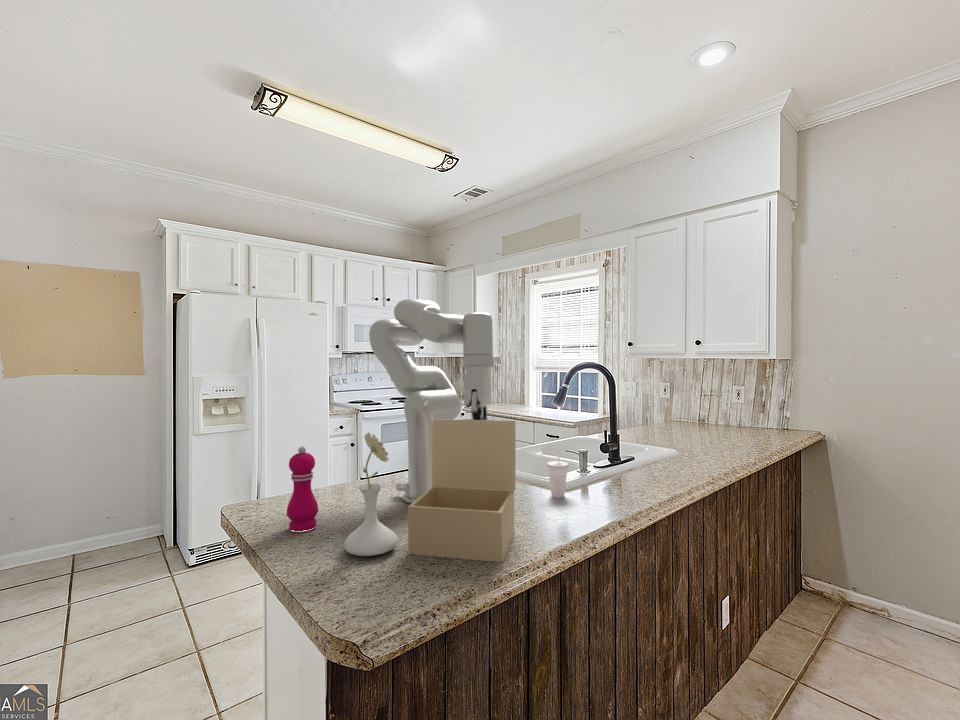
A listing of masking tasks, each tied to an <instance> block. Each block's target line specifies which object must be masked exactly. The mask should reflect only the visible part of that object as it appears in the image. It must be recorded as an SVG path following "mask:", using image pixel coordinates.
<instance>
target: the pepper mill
mask: <svg viewBox="0 0 960 720" xmlns="http://www.w3.org/2000/svg"><path fill="white" fill-rule="evenodd" d="M297 451H298V453H296V454H293V455H292V456H291V457H290V459H289V461H288V468H289V470H290V471H291V472H292V473H291V474H290V476H291V478H290V479H291V481H292V482H293V490H292V495H291V497H290V500H289V501H288V503H287V507H286V516H287V518H288V519H289V520H290V521H289V522H288V530H289V529H290V530H294V531H303V530H309V529H312V528H314V527H315V526H316V527H317V519H316V518H315V517H316V516H317V515H318V512H319V504H318V501H317V500H316V498H315V496H314V493H313V489H312V479H313V478H314V472H313V470H314V468H315V466H316V460H315V457H314V456H313V454H311V453H309V452H306V447H305V446H299V448H298V449H297Z"/></svg>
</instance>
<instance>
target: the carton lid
mask: <svg viewBox="0 0 960 720" xmlns="http://www.w3.org/2000/svg"><path fill="white" fill-rule="evenodd" d="M516 421H517V420H502V419H501V420H500V419H499V420H497V419H487V420H472V418H471V419H465V418H464V419H433V449H432V486H438V487H455V488H473V489H492V490H511V491H514V492H515V491H516V470H517V469H516V465H517V464H516V457H517V456H516V451H517V450H516V448H517V447H516V441H517V439H516V435H517V434H516V431H517V430H516V427H517V426H516Z"/></svg>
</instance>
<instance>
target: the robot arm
mask: <svg viewBox="0 0 960 720" xmlns="http://www.w3.org/2000/svg"><path fill="white" fill-rule="evenodd" d="M393 309H394V310H393V315H394V318H395V319H394V318H393V319H392V318H384V319H379V320H377V321H375V322H373V323H372V324H371V326H370V328H369V334H368V335H369V344H370V348H371V350H372V352H373V354H374V355H375V357H376V358H377V360H378V361H379V362H380V363H381V365H382V366H383V367H384V369H385V370H386V371H387V374H388V375H389V378H390V379H391V381H392V383H393V385H394V386H395V388H396V390H397V391H398V392H399V394H400V395H401V396H403V397H406V398H405V399H404V403H403V411H404V417H405V420H406V429H407V463H408V464H407V465H408V467H407V468H408V474H407V475H408V479H407V480H408V481H407V482H405V483H404V482H396V484H395V488H396V491H399V492H402V491H403V492H404V494H403V496H402V497H403V501H404V502H406V503H408V504H410V505H411V504H412V503H413V502H414V501H415V500H417V499H418V498H419V497H420V496H421V495H423V494H424V493H425V492H426V491H428V490H429V489H430V488H431V487H432V449H433V419H454V420H456V419H457V418H458V417H459V416H460V414H461V411H462V401H461V398H460V396H459V394H458V391H456V389H455V388H454V386H453V384H452V383H451V381H450V380H449V378H448V377H447V375H446V374H445V372H444V371H443V370H442V369H441V368H439V367H437V366H435V365H419V364H416V363H415V362H414V361H413V360H412V357H411V356H410V355H409V354H408V353H407V352H406V351H405V350H403V348H400V347H399V346H401V347H402V346H406V347H407V346H418V345H419V344H421V343H423V341H424V340H427V341H430V342H433V343H436V344H460V345H461V344H462V348H463V349H462V351H463V352H462V354H463V356H462V357H463V358H462V359H463V360H462V361H463V368H464V369H465V371H464V373H465V375H464V395H463V397H464V399H463V403H464V407H465V408H470V412H471V419H472V420H488V406H489V405H490V404H491V401H492V400H491V399H492V398H491V397H492V396H491V395H492V391H491V389H492V388H491V372H490V368H494V347H493V346H494V342H493V341H494V340H493V339H494V338H493V336H494V335H493V332H494V331H493V318H492V315H491V314H490V313H488V312H468V313H466V314H463V315H462V314H449V313H442V311H441V308H440V306H439V305H438V304H437V303H436V302H435V301H431V300H425V299H414V298H406V299H402V300H401V301H398V302H397V303H396V305H395V306H394V308H393ZM436 487H438V486H436Z"/></svg>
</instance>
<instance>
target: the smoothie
mask: <svg viewBox="0 0 960 720" xmlns="http://www.w3.org/2000/svg"><path fill="white" fill-rule="evenodd" d="M560 450H561V449H560V448H559V447H558V448H557V460H553V461H548V462H546V467H547V470H548V477H549V484H550V485H549V486H550V493H551V497H552V498H556V499H561V498H564V497H565V493H566V492H565V491H566V485H567V484H566V483H567V474H568V469H569V463H568V462H566V461H560V459H561V458H560V457H561V455H560V454H561V453H560Z"/></svg>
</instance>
